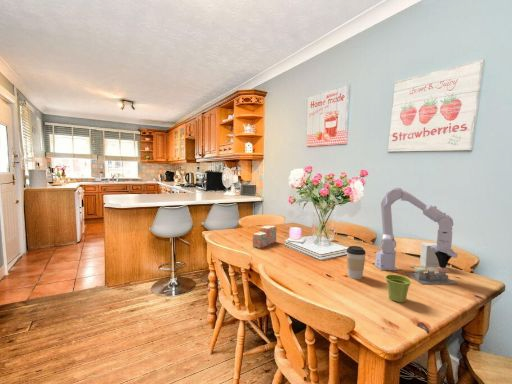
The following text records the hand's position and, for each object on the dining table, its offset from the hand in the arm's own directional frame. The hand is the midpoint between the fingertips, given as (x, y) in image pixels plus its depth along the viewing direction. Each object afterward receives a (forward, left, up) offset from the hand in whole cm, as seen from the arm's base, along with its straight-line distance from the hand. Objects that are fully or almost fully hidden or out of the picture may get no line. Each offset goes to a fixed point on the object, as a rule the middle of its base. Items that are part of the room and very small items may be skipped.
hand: (442, 267), depth 125 cm
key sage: (-11, 0, -4) cm, 12 cm away
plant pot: (-34, -20, -6) cm, 40 cm away
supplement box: (+6, +17, -6) cm, 19 cm away
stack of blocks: (-84, +60, -6) cm, 103 cm away
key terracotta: (0, 0, -4) cm, 4 cm away
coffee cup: (-42, +3, -6) cm, 43 cm away
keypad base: (-6, 0, -6) cm, 8 cm away
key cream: (-6, 0, -4) cm, 7 cm away
